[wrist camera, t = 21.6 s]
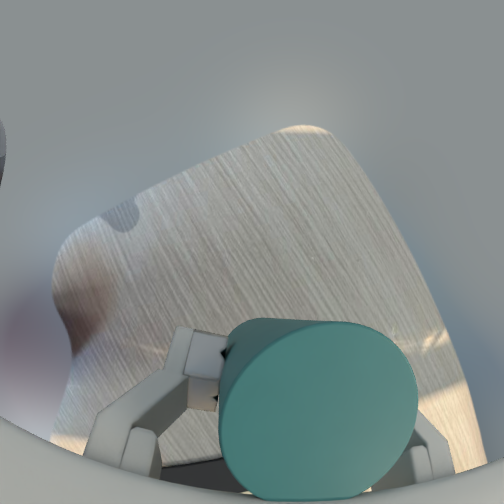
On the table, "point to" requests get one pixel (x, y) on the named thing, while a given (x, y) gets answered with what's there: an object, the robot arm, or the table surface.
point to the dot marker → (313, 408)
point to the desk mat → (204, 476)
